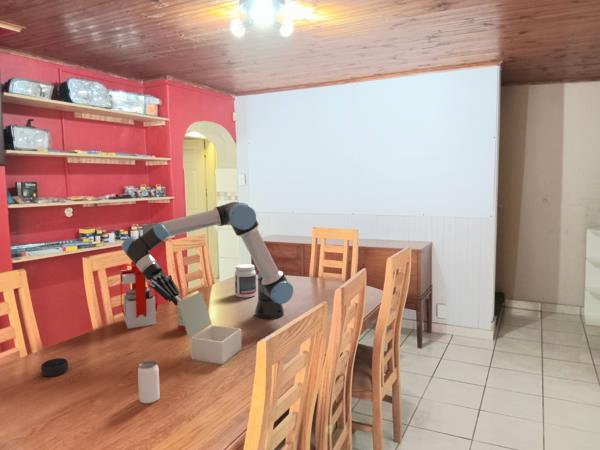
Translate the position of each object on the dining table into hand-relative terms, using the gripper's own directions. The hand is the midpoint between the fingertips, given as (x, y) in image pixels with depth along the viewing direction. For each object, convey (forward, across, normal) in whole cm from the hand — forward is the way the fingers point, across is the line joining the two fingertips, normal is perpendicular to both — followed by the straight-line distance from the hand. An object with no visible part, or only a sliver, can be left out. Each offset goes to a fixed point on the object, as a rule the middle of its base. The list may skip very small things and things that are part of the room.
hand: (184, 309), depth 187 cm
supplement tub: (+3, -85, -23) cm, 88 cm away
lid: (+5, 0, +3) cm, 6 cm away
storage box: (+23, 0, -2) cm, 23 cm away
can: (+22, +40, -4) cm, 45 cm away
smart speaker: (-12, +34, -37) cm, 52 cm away
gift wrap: (-17, -22, -42) cm, 51 cm away
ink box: (+3, -24, -22) cm, 33 cm away
